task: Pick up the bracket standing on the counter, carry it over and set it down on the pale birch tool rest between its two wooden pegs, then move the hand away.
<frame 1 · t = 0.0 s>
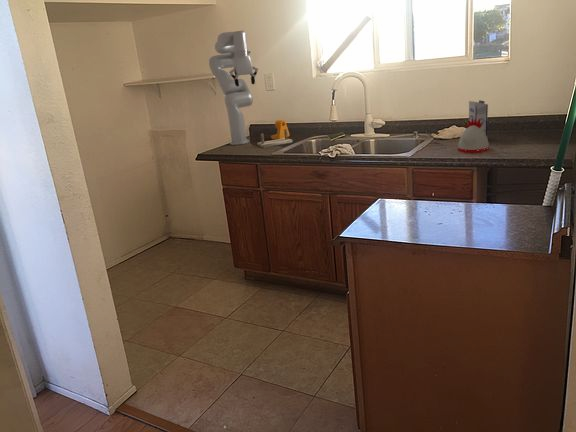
hand: (245, 85, 282), 37 cm above the worktop, tool pointing down, fingers open, 9 cm apart
bracket: (280, 138, 316), on the worktop
milk carton: (477, 139, 255), on the worktop
tool rest: (275, 143, 300), on the worktop
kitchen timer: (473, 150, 234), on the worktop
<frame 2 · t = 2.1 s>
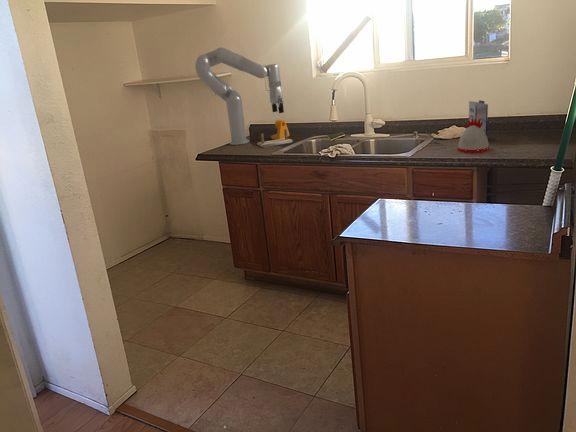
hand: (278, 112, 310), 17 cm above the worktop, tool pointing down, fingers open, 9 cm apart
nothing on the worktop moved.
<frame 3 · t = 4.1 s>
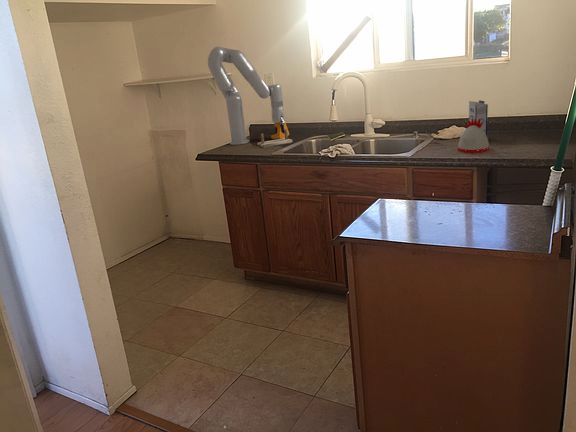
hand: (280, 132, 315), 4 cm above the worktop, tool pointing down, fingers closed on bracket, 5 cm apart
bracket: (280, 138, 316), on the worktop, touching gripper
everything else where it was.
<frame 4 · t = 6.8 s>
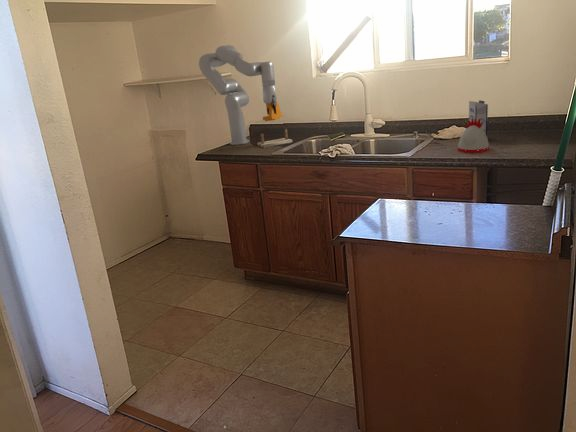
hand: (271, 114, 294), 18 cm above the worktop, tool pointing down, fingers closed on bracket, 5 cm apart
bracket: (272, 120, 295), point 14 cm above the worktop, touching gripper
everything else where it was.
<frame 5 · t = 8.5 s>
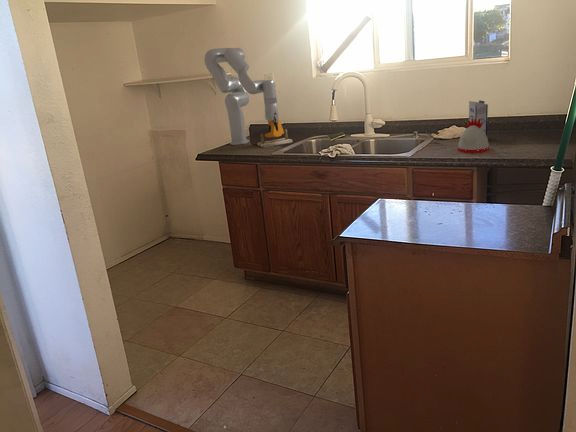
hand: (273, 131, 297), 8 cm above the worktop, tool pointing down, fingers closed on bracket, 5 cm apart
bracket: (274, 137, 299), point 4 cm above the worktop, touching gripper
everything else where it was.
when the fingers open (7 cm above the worktop, at t = 9.5 s): bracket drops 2 cm, resting on tool rest.
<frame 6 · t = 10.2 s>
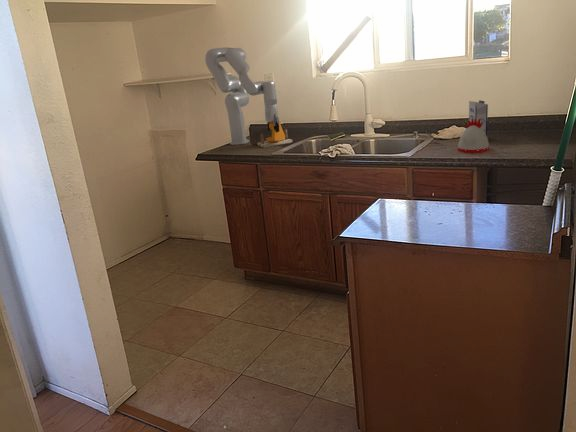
hand: (273, 131, 297), 8 cm above the worktop, tool pointing down, fingers open, 9 cm apart
bracket: (275, 141, 299), point 2 cm above the worktop, touching gripper, tool rest
everything else where it was.
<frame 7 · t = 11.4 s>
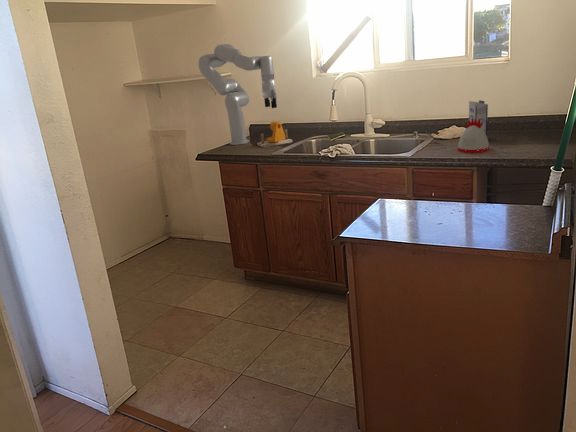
hand: (270, 107, 293), 22 cm above the worktop, tool pointing down, fingers open, 9 cm apart
bracket: (275, 141, 299), point 1 cm above the worktop, touching tool rest
everything else where it was.
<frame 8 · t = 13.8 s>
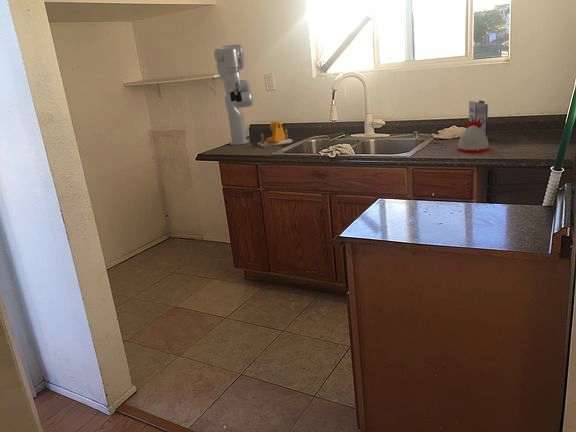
hand: (236, 101, 284), 28 cm above the worktop, tool pointing down, fingers open, 9 cm apart
nothing on the worktop moved.
at the end: bracket inside the target area on the tool rest (0.9 cm from its centre), point 1.3 cm above the tool rest's base; bracket tilted 0°; the gripper is holding nothing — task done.
